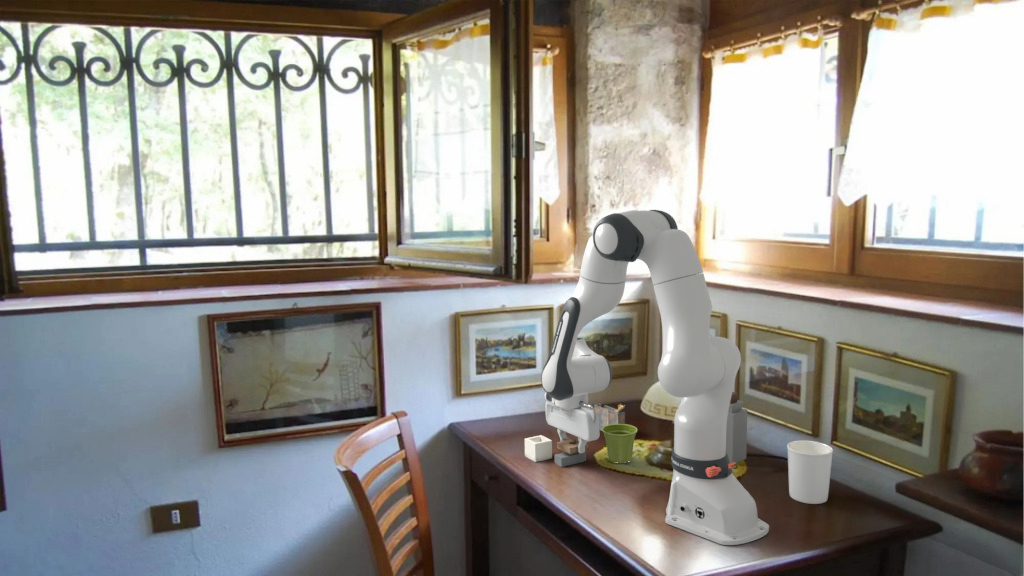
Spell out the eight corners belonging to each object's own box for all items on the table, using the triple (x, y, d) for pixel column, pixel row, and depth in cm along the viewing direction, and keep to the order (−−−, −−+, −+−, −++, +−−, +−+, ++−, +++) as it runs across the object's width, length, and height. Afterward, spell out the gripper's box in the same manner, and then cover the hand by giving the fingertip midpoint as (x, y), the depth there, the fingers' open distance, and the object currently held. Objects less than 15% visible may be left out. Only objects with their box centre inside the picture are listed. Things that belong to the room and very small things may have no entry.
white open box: (552, 458, 197) (551, 440, 197) (535, 462, 195) (535, 444, 194) (541, 452, 202) (541, 435, 201) (524, 456, 199) (524, 438, 199)
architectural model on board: (625, 436, 216) (626, 404, 214) (618, 438, 214) (618, 406, 213) (601, 427, 225) (601, 396, 224) (593, 429, 224) (593, 398, 222)
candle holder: (776, 493, 171) (777, 443, 170) (808, 486, 175) (809, 437, 174) (808, 508, 162) (810, 457, 161) (840, 500, 166) (842, 450, 165)
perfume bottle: (732, 464, 190) (733, 397, 188) (710, 458, 195) (711, 393, 193) (746, 458, 195) (747, 393, 192) (724, 452, 200) (725, 388, 197)
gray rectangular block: (585, 461, 195) (585, 452, 194) (561, 467, 191) (561, 458, 190) (578, 457, 197) (578, 449, 197) (554, 463, 193) (554, 454, 193)
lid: (588, 449, 192) (588, 440, 192) (569, 454, 189) (569, 444, 189) (575, 443, 197) (575, 434, 197) (557, 448, 194) (556, 438, 194)
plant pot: (627, 469, 188) (627, 436, 187) (595, 461, 194) (595, 430, 193) (643, 458, 196) (643, 427, 195) (612, 452, 201) (612, 421, 200)
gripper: (605, 404, 184) (606, 457, 186) (559, 388, 202) (561, 437, 204) (584, 408, 181) (586, 462, 183) (540, 392, 199) (542, 441, 200)
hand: (572, 448), depth 193 cm, fingers closed on lid, 6 cm apart
